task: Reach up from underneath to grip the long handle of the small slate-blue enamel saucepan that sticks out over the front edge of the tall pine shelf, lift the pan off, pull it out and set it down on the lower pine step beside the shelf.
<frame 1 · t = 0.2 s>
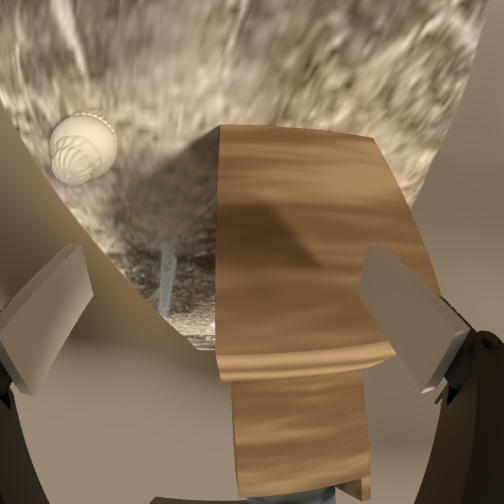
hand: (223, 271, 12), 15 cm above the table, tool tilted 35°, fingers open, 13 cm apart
pine stand: (278, 225, 34), on the table
white ridged rounded piece: (97, 122, 20), on the table
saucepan: (290, 478, 24), point 30 cm above the table, touching pine stand
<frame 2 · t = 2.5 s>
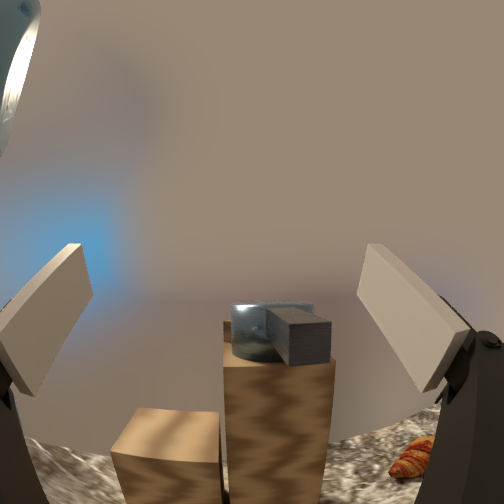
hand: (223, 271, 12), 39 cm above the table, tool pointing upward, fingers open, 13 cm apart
croissant: (426, 463, 36), on the table
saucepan: (272, 351, 34), point 30 cm above the table, touching pine stand
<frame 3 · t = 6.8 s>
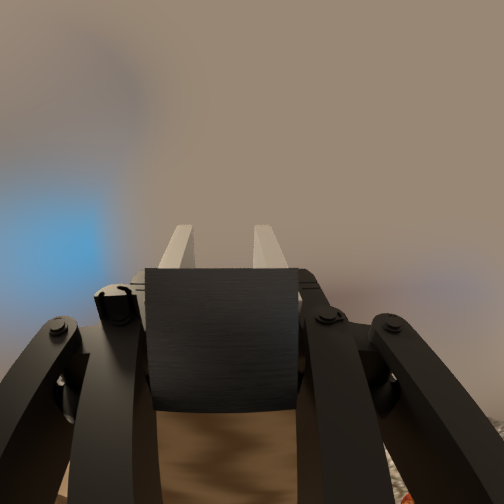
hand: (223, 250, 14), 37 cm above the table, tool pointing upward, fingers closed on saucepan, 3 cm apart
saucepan: (225, 356, 20), point 30 cm above the table, touching gripper, pine stand
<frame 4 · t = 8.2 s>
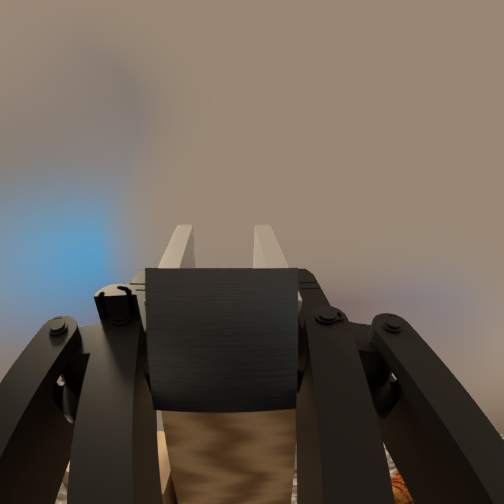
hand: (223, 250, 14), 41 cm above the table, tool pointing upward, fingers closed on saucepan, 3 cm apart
croissant: (418, 488, 30), on the table
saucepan: (225, 355, 21), point 34 cm above the table, touching gripper
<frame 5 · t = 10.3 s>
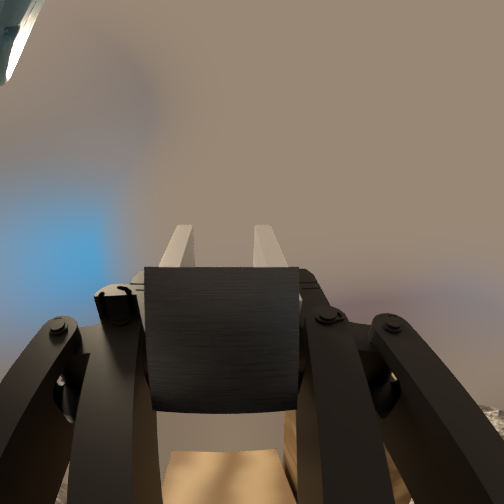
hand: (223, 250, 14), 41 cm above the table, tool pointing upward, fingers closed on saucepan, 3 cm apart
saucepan: (225, 355, 20), point 34 cm above the table, touching gripper
when the fingers open (26 cm above the table, at t = 13.6 s): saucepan drops 1 cm, resting on pine stand.
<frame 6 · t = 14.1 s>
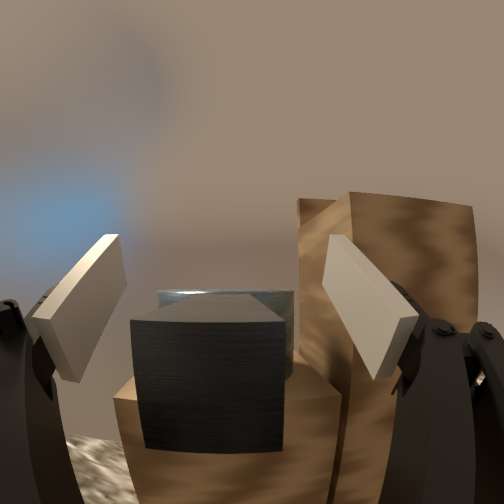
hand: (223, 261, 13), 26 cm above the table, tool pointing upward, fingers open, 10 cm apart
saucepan: (226, 368, 20), point 18 cm above the table, touching pine stand
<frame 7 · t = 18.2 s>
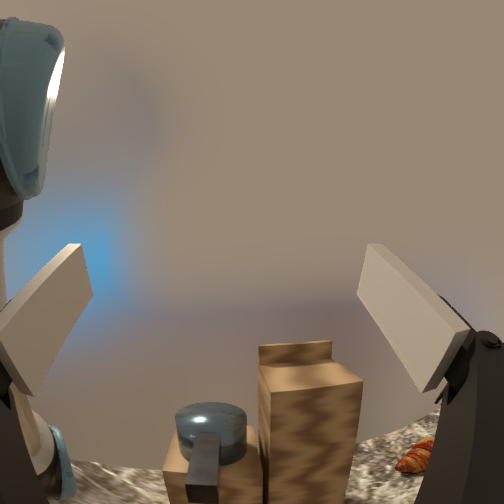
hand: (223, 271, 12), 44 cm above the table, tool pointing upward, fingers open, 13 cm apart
croissant: (430, 461, 40), on the table
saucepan: (213, 448, 34), point 18 cm above the table, touching pine stand
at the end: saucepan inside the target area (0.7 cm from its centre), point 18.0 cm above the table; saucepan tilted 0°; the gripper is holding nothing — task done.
